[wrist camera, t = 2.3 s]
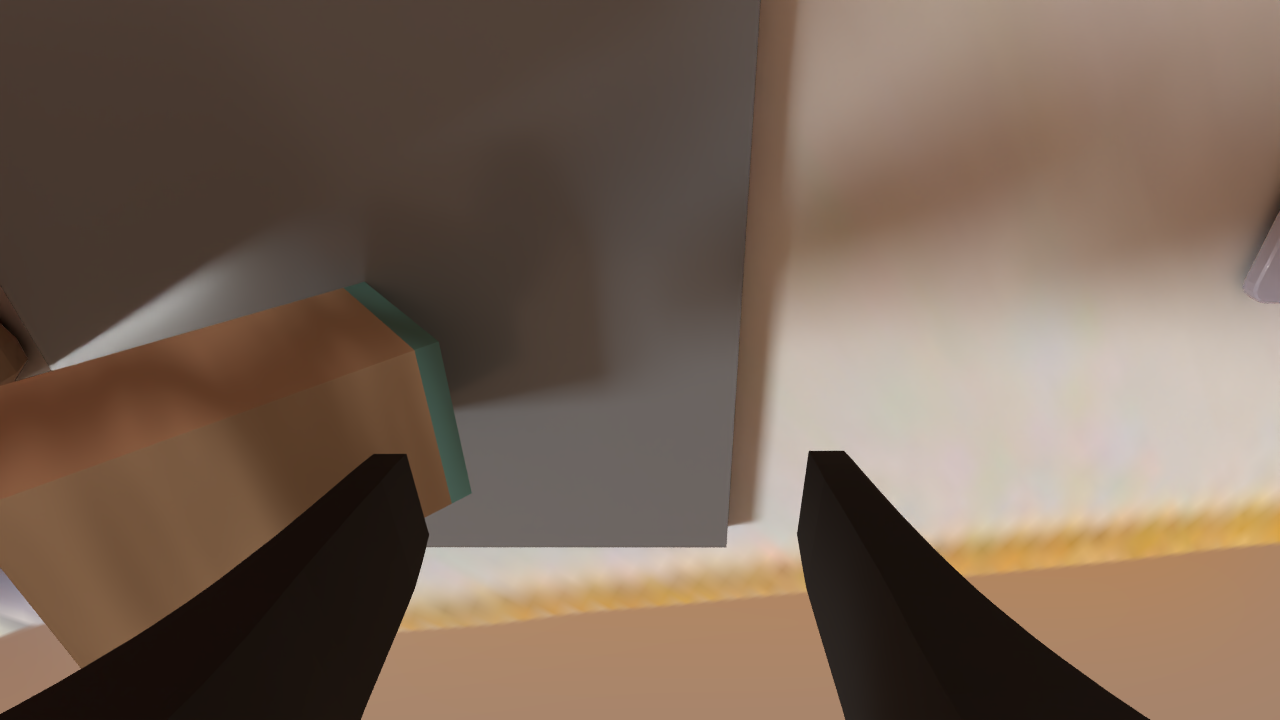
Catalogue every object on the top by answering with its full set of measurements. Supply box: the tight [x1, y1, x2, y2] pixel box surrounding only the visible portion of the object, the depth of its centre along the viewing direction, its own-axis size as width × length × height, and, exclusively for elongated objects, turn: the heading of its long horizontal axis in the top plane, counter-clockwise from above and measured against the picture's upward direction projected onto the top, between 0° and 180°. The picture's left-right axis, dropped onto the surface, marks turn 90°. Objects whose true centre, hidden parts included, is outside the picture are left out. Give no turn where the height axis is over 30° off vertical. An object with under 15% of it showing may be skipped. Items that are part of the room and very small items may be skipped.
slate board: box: [0, 0, 760, 547], centre depth 16 cm, size 18×16×1 cm
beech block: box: [0, 282, 472, 669], centre depth 13 cm, size 4×4×7 cm
